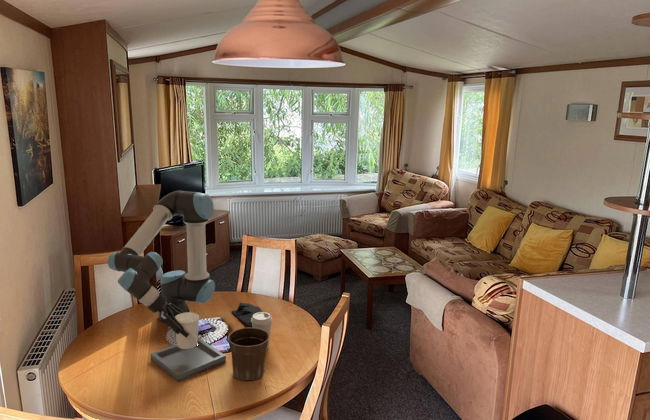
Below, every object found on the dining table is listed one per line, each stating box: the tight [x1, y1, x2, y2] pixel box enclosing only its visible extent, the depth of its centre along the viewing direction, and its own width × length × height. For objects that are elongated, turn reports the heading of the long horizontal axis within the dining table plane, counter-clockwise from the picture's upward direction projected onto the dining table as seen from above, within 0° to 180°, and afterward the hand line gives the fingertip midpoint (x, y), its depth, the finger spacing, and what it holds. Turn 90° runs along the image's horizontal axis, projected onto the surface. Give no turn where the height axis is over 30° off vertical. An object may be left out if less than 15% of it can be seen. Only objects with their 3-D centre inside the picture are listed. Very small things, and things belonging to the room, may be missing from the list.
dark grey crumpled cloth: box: [231, 302, 264, 326], centre depth 243 cm, size 15×22×5 cm
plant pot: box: [227, 327, 270, 381], centre depth 192 cm, size 16×16×16 cm
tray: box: [150, 337, 227, 383], centre depth 200 cm, size 22×22×3 cm
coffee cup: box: [251, 311, 274, 350], centre depth 213 cm, size 10×10×15 cm
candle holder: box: [175, 311, 200, 349], centre depth 197 cm, size 10×10×12 cm
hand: (194, 334), depth 198 cm, fingers closed on candle holder, 9 cm apart
